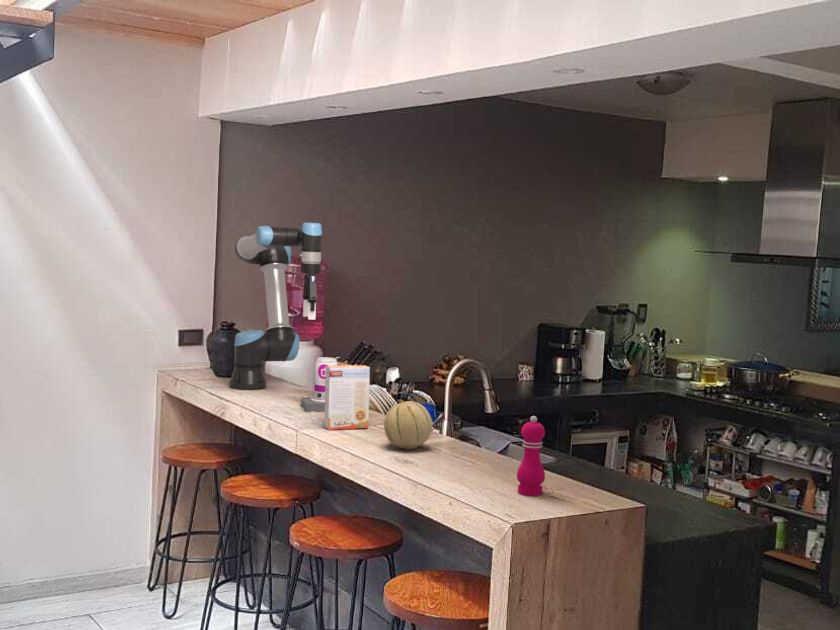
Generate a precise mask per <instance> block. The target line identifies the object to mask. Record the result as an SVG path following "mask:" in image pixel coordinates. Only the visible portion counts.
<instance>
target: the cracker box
mask: <svg viewBox="0 0 840 630" xmlns="http://www.w3.org/2000/svg"><path fill="white" fill-rule="evenodd" d="M370 372H371V367H369V366H368V365H365V364H364V365H362V364H359V365H351V364H349V365H337V366H326V372H325V412H324V422H323V423H324V428H325V429H326V430H327V431H338V429H343V430H357V429H356V428H368V429H369V414H370V413H369V411H370V410H369V409H370V408H369V407H370V374H371V373H370Z"/></svg>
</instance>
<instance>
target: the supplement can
mask: <svg viewBox="0 0 840 630" xmlns="http://www.w3.org/2000/svg"><path fill="white" fill-rule="evenodd" d="M326 366H338V360H337V358H336V357H331V356H330V357H329V356H328V357H327V356H324V357H323V356H321V357H317V358H316V359H315V361H314V387H313V388H314V389H313V391H314V393H313V395H314V396H313V397H315V398H316V399H318V400H325V372H326Z"/></svg>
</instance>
